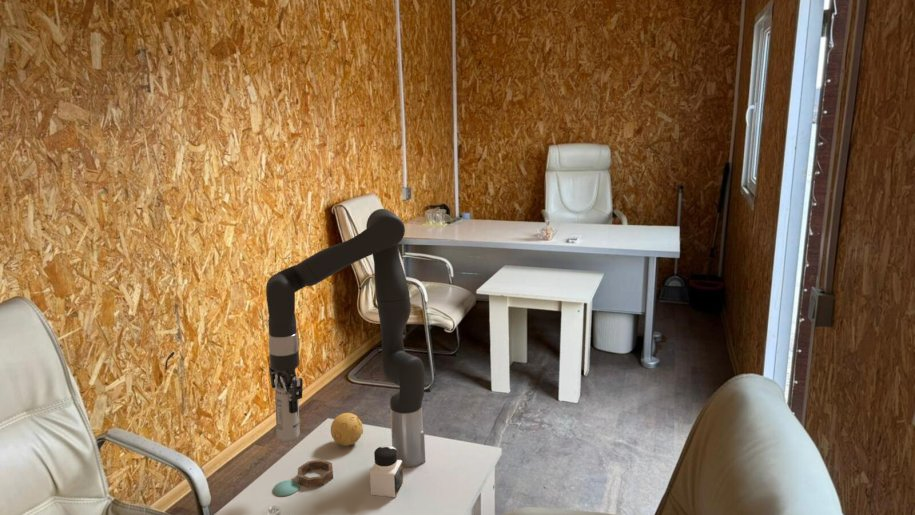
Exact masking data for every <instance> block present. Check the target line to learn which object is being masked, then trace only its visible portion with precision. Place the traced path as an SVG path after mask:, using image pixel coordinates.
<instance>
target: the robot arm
mask: <svg viewBox="0 0 915 515" xmlns="http://www.w3.org/2000/svg"><path fill="white" fill-rule="evenodd" d="M405 232H406V228H405V223H404V222H403V220H402V219H401V218H400V217H399V216H398V215H397V214H396V213H395V212H393V211H392V210H389V209H387V208H379V209H376V210H374V211H372V212H371V213H370V215H369V216H368V219H367V220H366V228H365V229H364V230H363V231H362V232H360V233H359V234H357V235H355V236H353V237H351V238H350V239H347V240H345V241H343V242H340V243H337V244H334V245H332V246H328V247H326V248H324V249H322V250H319V251H318V252H315V253H314V254H312V255H310V256H309V257H307V258H306V259H304V260H302V261H300V262H299V263H298V264H294V265H292V266H290V267H287V268H285V269H282V270H280V271H278V272H277V273H274V274H273V275H272V276H270V278H268V280H267V282H266V286H265V289H266V290H265V293H266V294H265V295H266V304H267V312H268V322H267V323H268V324H267V325H268V334H269V335H268V351H269V352H268V355H269V365H270V366H269V368H268V369H269V371H268V372H269V378H270V385H271V388H272V389H274V393H275V392H276V390H277V386H278V385H279V384H280V385H282V386H283V387H284V391H285V393H287V395H288V399H289V412H290V413H291V414H293V413H295V412H297V411H298V400H300V399H303V386H304V385H303V378H302V377H299V378H298V377H297V374H296V369H297V368H298V367H299V365H300V350H299V348H300V347H299V337H298V332H297V331H298V329H297V328H298V327H297V318H296V310H295V308H296V292H298V291H301V290H302V289H304V288H306V287H313V286H315V285H318V284H319V283H321V282H322V281H325V280H326V279H328V278H330V277H331V276H333V275H334V274H336V273H338V272H339V271H341V270H343V269H345V268H347V267H349V266H351V265H352V264H354V263H357V262H358V261H360V260H362V259H365V258H367V257H369V256H372V257H373V259H372V260H373V266H374V267H373V269H374V271H373V272H374V287H375V297H376V305H377V312H378V317H379V318H378V319H379V326H380V327H379V328H380V335H381V336H380V338H381V358H382V359H381V363H382V372H383V375H384V377H385V378H386V380H388V381H389V382H391V383H393V384H396V385H398V387H399V391H398V392H396V393H394V394H393V395H391V397H390V399H389V409H390V411H389V412H390V427H391V428H390V430H391V446H392V447H394V448H395V449H396V450H397V460H402V468H413V467H417V466H419V465H420V464H422V463H426V447H425V446H426V441H425V431H424V428H423V427H424V426H423V399H424V396H425V374H426V372H425V364H424V363H423V361H422V359H421V358H420V357H418V356H416V355H412V354H410V353H408V352H406V350H405V347H404V346H405V345H404V330H405V328H406V325H407V323H408V321H409V318H410V315H411V312H412V306H411V304H412V303H411V296H410V289H409V284H408V280H407V278H406V274H405V273H406V272H405V271H404V270H405V269H404V267H403V265H402V262H401V257H400V251H399V250H400V247H399V244H400V243H401V242H402V240H403V238H404V237H405V234H406V233H405ZM291 386H292V388H290V389H288V387H291ZM291 391H292V396H291Z"/></svg>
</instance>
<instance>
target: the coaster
mask: <svg viewBox="0 0 915 515" xmlns="http://www.w3.org/2000/svg"><path fill="white" fill-rule="evenodd" d="M299 490H300V484H299V483H298V481H296V480H293V479H291V480H290V479H287V480H283V481H280V482H278V483H277V484H275V485H274V486H273V489H272V492H273V494H274V495H275V496H277V497H288V496H292V495H294V494H296V493H297V492H298V491H299Z"/></svg>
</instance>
